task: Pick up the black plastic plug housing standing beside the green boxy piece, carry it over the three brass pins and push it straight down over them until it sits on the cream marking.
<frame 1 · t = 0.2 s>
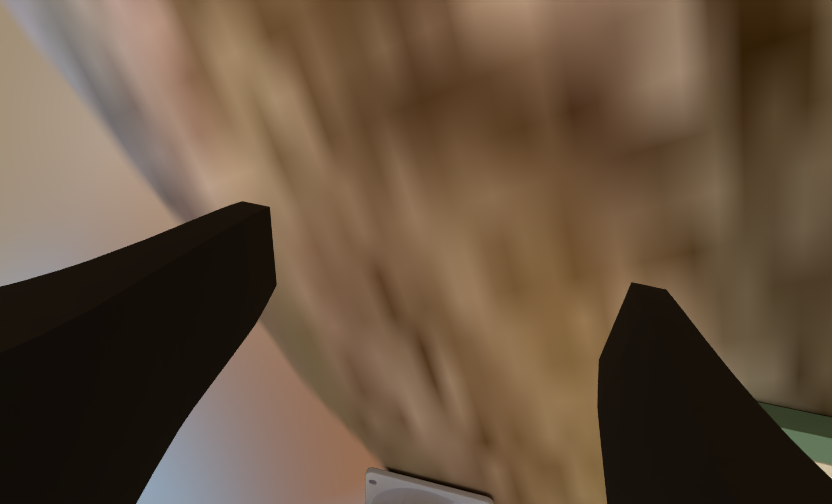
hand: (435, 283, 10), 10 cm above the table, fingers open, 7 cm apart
green boxy piece: (793, 472, 24), on the table
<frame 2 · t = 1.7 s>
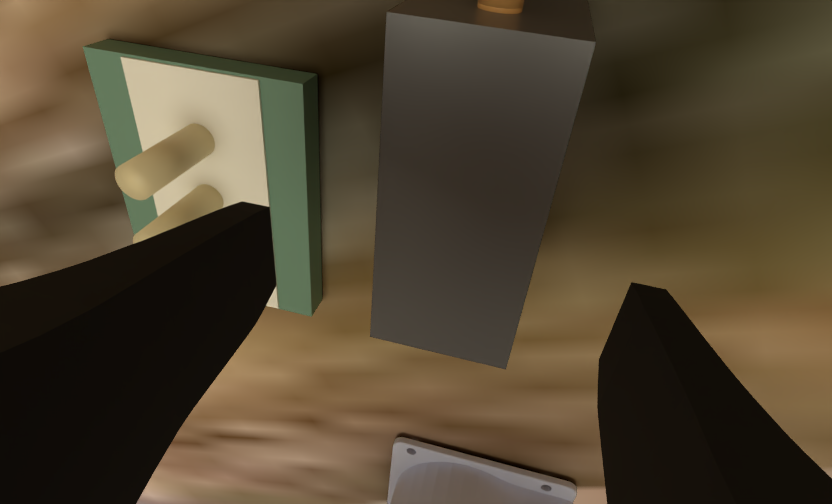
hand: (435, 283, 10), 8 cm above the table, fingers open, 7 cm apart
green boxy piece: (227, 183, 21), on the table
plug housing: (488, 132, 17), on the table
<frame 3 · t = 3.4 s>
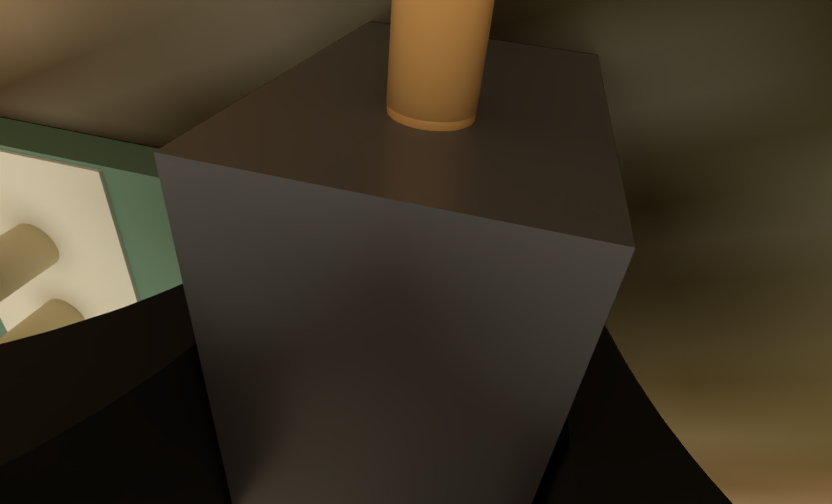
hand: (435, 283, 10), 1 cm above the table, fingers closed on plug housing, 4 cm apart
green boxy piece: (100, 287, 15), on the table
plug housing: (448, 245, 11), on the table, touching gripper
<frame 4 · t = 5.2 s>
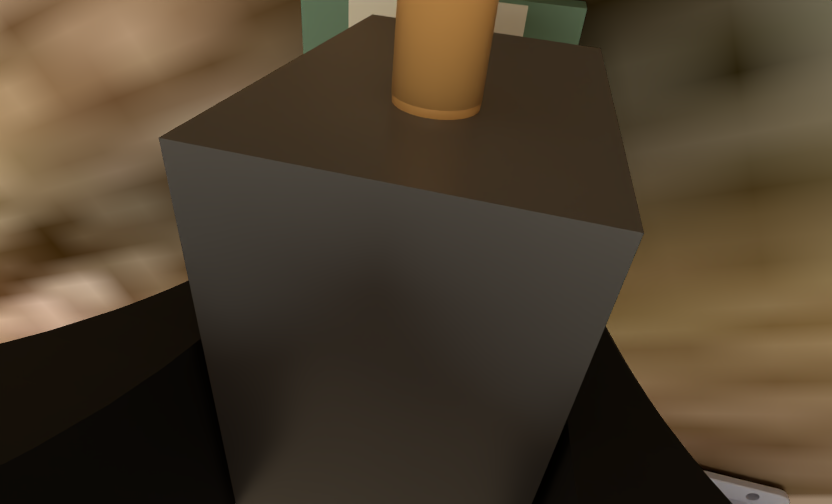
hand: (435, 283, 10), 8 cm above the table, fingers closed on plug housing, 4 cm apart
green boxy piece: (429, 145, 18), on the table
plug housing: (450, 240, 11), point 7 cm above the table, touching gripper
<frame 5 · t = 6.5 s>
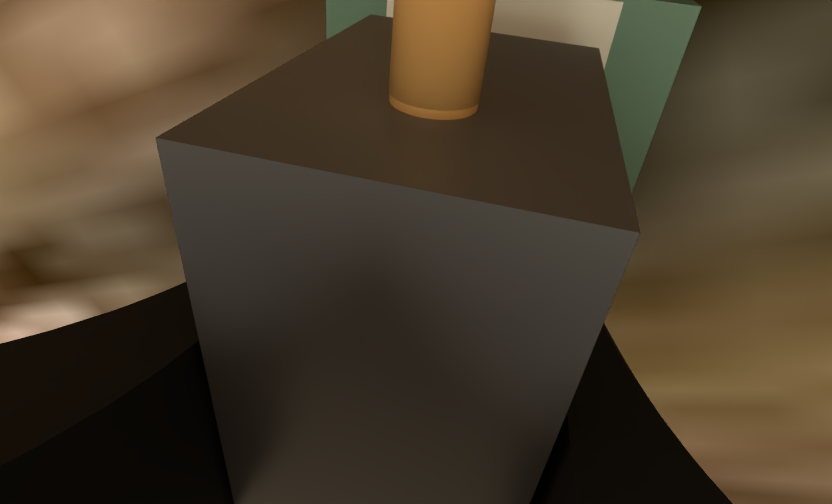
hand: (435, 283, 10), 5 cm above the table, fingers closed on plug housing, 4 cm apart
green boxy piece: (475, 170, 15), on the table
plug housing: (449, 240, 11), point 4 cm above the table, touching gripper
when the fingers open (3 cm above the table, at t = 7.4 s): plug housing stays where it is, resting on green boxy piece.
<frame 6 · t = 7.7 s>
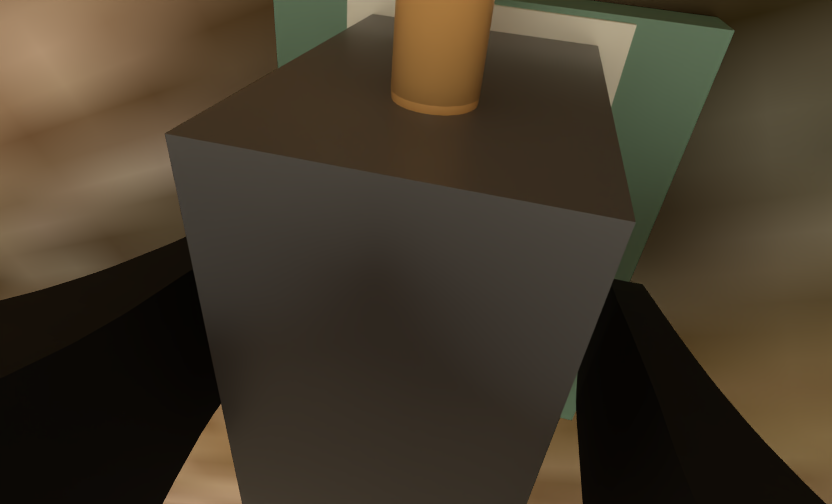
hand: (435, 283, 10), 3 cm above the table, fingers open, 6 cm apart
green boxy piece: (459, 212, 13), on the table
plug housing: (451, 237, 12), point 1 cm above the table, touching green boxy piece
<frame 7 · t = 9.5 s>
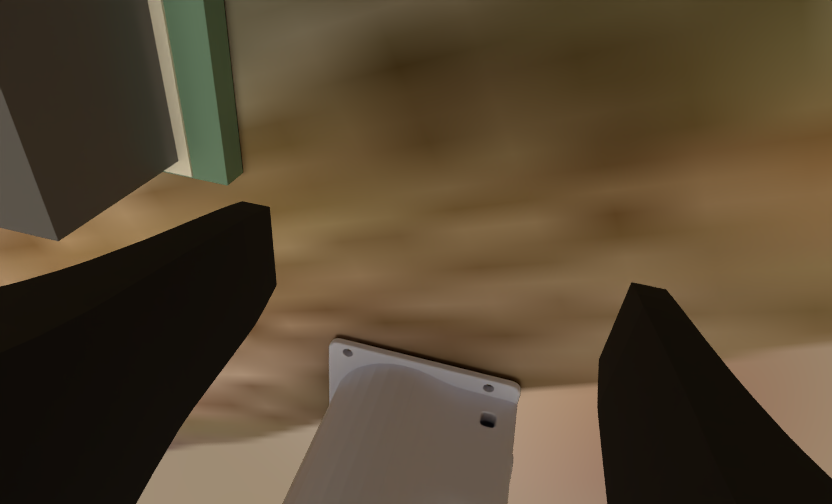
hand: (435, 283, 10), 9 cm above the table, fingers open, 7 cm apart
green boxy piece: (130, 32, 19), on the table
plug housing: (105, 36, 18), point 1 cm above the table, touching green boxy piece
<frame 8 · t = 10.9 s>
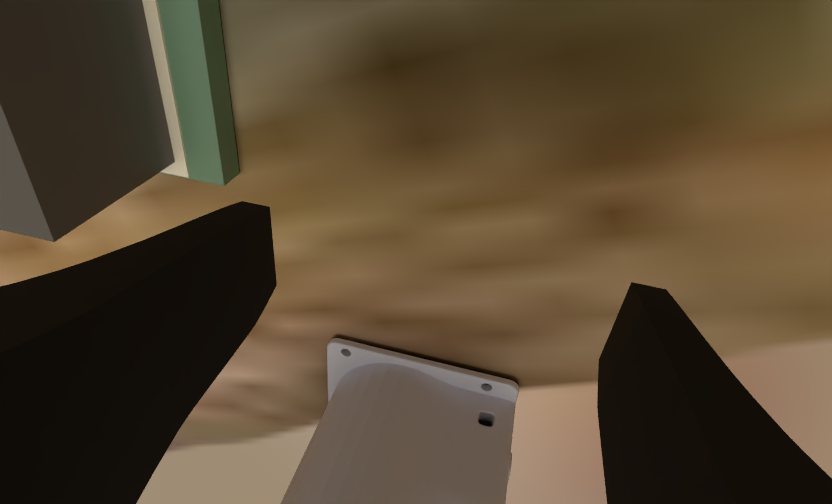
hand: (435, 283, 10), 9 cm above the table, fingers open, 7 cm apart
green boxy piece: (126, 33, 19), on the table
plug housing: (101, 38, 18), point 1 cm above the table, touching green boxy piece
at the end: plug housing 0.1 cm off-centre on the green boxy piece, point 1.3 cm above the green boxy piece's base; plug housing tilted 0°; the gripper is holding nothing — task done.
